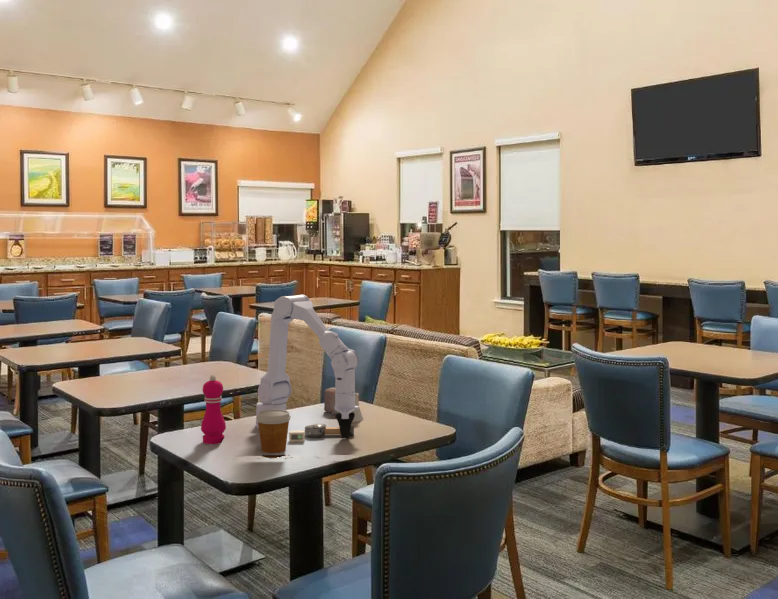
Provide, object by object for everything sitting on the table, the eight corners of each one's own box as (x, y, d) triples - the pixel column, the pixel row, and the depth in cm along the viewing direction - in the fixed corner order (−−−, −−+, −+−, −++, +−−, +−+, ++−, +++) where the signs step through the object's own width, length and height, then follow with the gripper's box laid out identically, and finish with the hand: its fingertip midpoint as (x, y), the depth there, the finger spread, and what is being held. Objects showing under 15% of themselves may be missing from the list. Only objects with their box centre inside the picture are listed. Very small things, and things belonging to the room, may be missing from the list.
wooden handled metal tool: (304, 438, 227) (304, 427, 227) (305, 433, 233) (305, 423, 233) (354, 437, 228) (354, 427, 228) (353, 432, 234) (353, 422, 234)
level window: (289, 443, 223) (289, 433, 222) (289, 440, 226) (289, 430, 226) (304, 443, 223) (304, 433, 223) (304, 440, 226) (304, 430, 226)
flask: (366, 421, 255) (366, 391, 254) (363, 427, 247) (363, 396, 247) (344, 421, 255) (344, 391, 254) (341, 426, 248) (341, 395, 247)
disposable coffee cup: (267, 448, 221) (267, 407, 220) (296, 452, 218) (296, 410, 217) (249, 457, 212) (249, 415, 211) (280, 461, 209) (280, 418, 208)
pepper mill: (231, 440, 230) (230, 374, 228) (213, 446, 224) (212, 378, 222) (214, 437, 234) (213, 372, 232) (196, 442, 228) (194, 375, 226)
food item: (362, 416, 262) (362, 387, 262) (343, 419, 257) (343, 390, 256) (338, 409, 273) (338, 381, 272) (320, 412, 268) (320, 384, 267)
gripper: (359, 396, 219) (359, 443, 220) (358, 386, 233) (358, 430, 234) (334, 397, 218) (334, 444, 219) (334, 387, 233) (334, 431, 234)
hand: (345, 437), depth 227 cm, fingers closed
